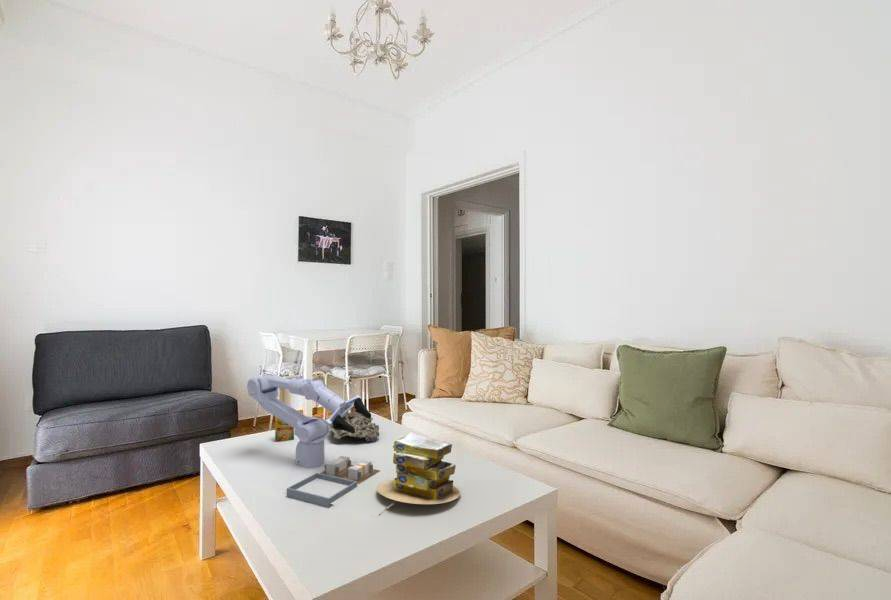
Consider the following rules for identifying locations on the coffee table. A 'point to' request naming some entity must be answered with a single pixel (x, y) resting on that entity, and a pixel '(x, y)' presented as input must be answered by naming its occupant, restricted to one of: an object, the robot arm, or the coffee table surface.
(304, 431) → the robot arm
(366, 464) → the marked fuse
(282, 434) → the crayon box
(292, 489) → the tray
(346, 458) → the block
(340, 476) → the board
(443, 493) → the stacked boxes on plate
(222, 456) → the coffee table surface
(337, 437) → the decorative rock
